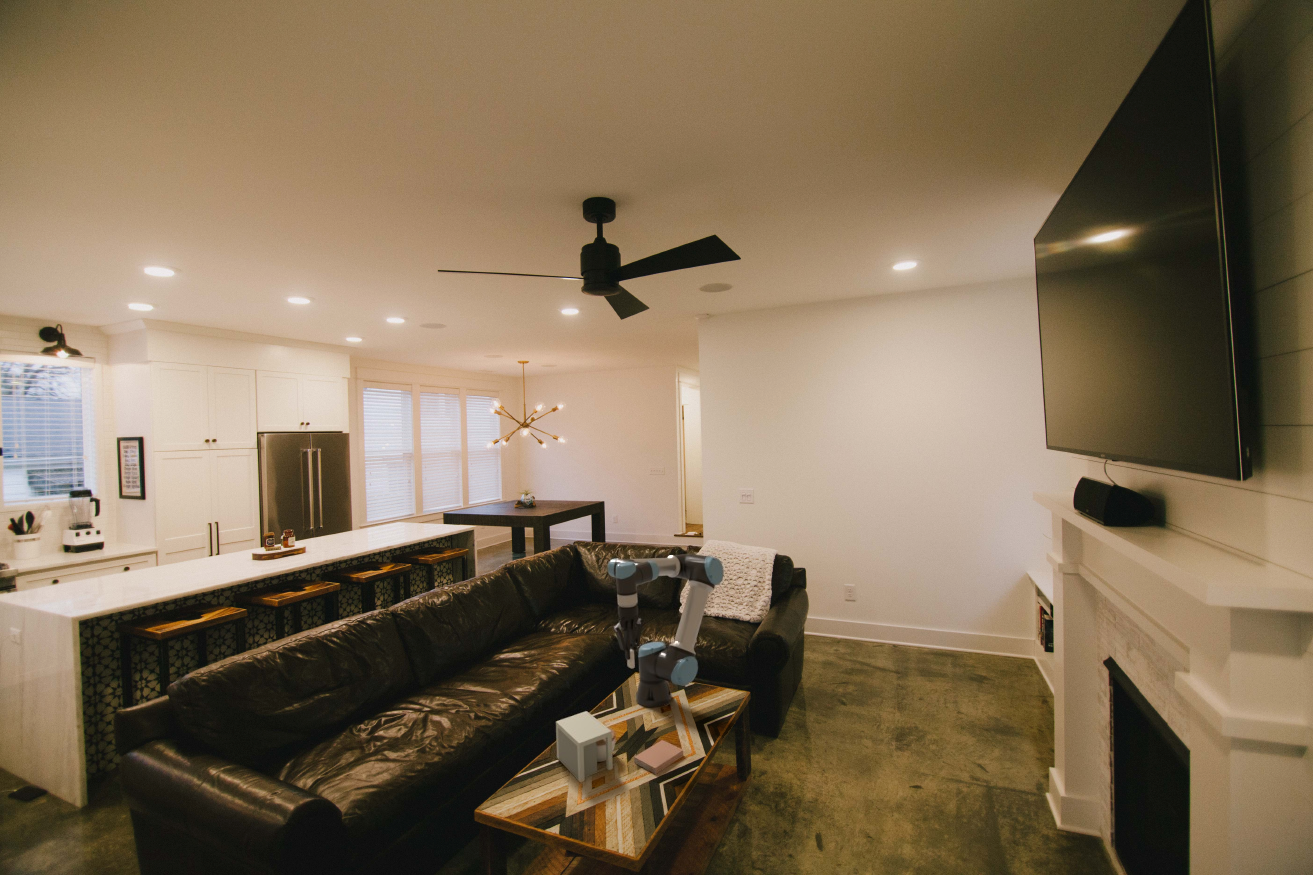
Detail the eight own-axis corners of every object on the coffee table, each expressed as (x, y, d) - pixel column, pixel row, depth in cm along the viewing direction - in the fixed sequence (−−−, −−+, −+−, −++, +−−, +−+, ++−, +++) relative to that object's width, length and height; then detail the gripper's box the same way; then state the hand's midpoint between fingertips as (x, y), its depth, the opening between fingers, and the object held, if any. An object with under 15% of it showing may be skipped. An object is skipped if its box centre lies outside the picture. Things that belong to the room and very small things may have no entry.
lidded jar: (601, 769, 181) (600, 740, 181) (578, 759, 187) (577, 731, 187) (622, 754, 189) (621, 727, 189) (599, 744, 196) (598, 718, 196)
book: (662, 746, 194) (662, 739, 194) (683, 756, 187) (683, 749, 187) (634, 764, 184) (634, 756, 184) (655, 775, 177) (655, 767, 177)
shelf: (587, 745, 195) (586, 710, 196) (612, 768, 181) (611, 730, 181) (557, 757, 188) (555, 721, 189) (580, 782, 174) (579, 743, 174)
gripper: (636, 598, 210) (639, 658, 210) (607, 606, 202) (611, 669, 202) (647, 602, 204) (650, 664, 204) (618, 610, 196) (622, 675, 196)
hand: (631, 666), depth 203 cm, fingers closed
